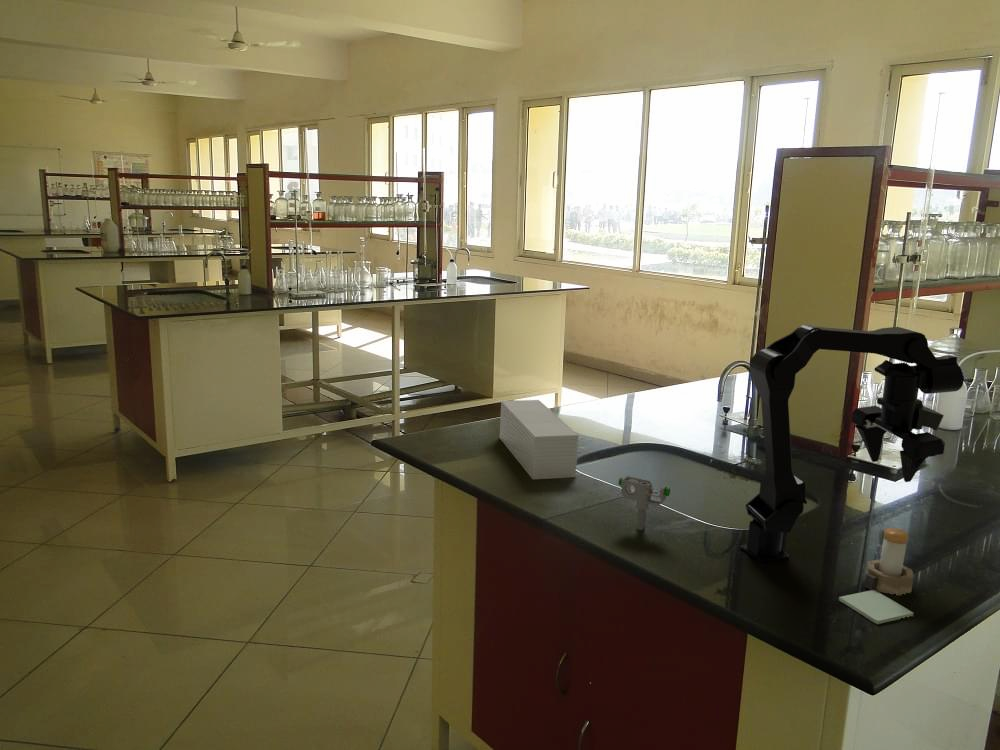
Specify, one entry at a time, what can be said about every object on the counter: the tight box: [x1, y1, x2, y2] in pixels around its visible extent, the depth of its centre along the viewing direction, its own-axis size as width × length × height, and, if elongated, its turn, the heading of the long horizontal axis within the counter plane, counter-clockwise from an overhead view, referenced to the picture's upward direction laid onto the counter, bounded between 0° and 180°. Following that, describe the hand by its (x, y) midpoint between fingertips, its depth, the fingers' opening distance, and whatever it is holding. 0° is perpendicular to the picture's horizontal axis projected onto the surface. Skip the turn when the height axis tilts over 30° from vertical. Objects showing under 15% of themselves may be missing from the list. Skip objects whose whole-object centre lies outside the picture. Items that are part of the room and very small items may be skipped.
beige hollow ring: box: [863, 558, 915, 596], centre depth 138 cm, size 8×7×3 cm
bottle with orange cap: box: [879, 527, 909, 577], centre depth 137 cm, size 4×4×10 cm
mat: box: [838, 590, 914, 625], centre depth 130 cm, size 8×8×1 cm
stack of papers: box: [499, 399, 579, 480], centre depth 198 cm, size 32×11×11 cm, turn 14°
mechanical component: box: [618, 475, 671, 531], centre depth 156 cm, size 3×10×10 cm, turn 61°
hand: (890, 471), depth 149 cm, fingers open, 9 cm apart
